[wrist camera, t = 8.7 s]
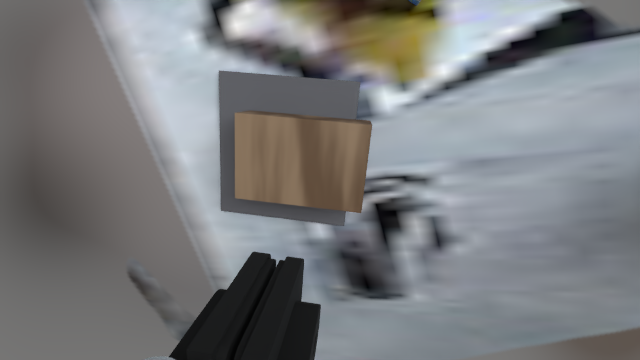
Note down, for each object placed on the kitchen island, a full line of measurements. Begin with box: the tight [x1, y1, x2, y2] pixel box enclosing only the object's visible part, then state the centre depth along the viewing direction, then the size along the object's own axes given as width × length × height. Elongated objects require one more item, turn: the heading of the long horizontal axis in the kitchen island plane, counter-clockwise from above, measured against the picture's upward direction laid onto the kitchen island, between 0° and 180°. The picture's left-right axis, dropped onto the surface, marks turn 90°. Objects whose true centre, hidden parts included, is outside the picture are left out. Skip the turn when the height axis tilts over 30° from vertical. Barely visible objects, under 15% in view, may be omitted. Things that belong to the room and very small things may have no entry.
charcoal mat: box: [219, 71, 360, 226], centre depth 32 cm, size 14×15×1 cm
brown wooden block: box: [235, 110, 372, 213], centre depth 29 cm, size 4×8×12 cm
